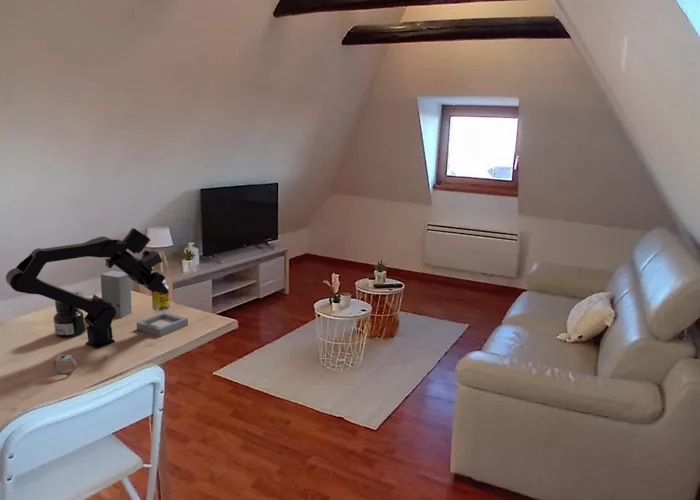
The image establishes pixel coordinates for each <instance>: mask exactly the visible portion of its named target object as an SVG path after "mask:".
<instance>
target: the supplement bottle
mask: <svg viewBox="0 0 700 500" xmlns="http://www.w3.org/2000/svg"><path fill="white" fill-rule="evenodd" d="M162 283H163V284H164V286H165V287H166V288H167V290H168V291H169V292H168V293H167V294H165V293H160V292H155V291H154V292H151V301H152V310H153V312H157V313H162V312H166V311H168V310H170V309H171V308H170V306H171V305H170V290H169V288H170V287H169V285H167V281H166V279H164V280H163V282H162Z"/></svg>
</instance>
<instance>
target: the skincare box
mask: <svg viewBox="0 0 700 500" xmlns="http://www.w3.org/2000/svg"><path fill="white" fill-rule="evenodd" d="M100 286H101V287H100V288H101V289H100V290H101V298H105V299H106V300H108V301H109V302H110V303H112V304H111V305H112V306H113V307H114V308H115V310H116V315H115V317H114V318H119V319H122V318H124V317H125V316H127V315H130V314H132V287H131V279H130V278H129V277H128V274H126V273H125V272H123V271H118V270H117V271H116V270H110V271H107V272H104V273H101V274H100Z"/></svg>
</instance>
